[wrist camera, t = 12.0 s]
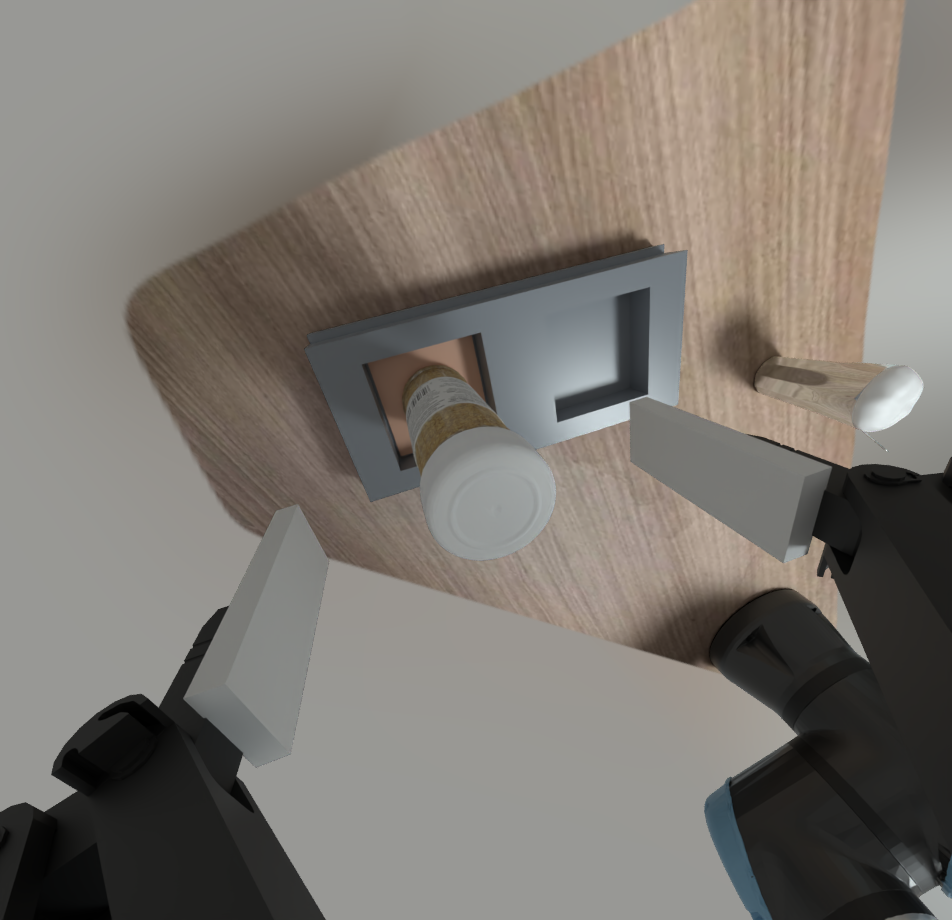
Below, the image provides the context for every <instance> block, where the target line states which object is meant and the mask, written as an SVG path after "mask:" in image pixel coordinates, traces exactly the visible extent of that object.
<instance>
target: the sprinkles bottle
mask: <svg viewBox="0 0 952 920" xmlns="http://www.w3.org/2000/svg"><path fill="white" fill-rule="evenodd" d="M402 403H403V410H404V412H405V414H406V421H407V426H408V431H409V436H410V440H411V445H412V450H413V454H414V458H415V462H416V465H417V467H418V468H419V472H420V475H421V480H420V496H421V502H422V507H423V511H424V515H425V518H426V522H427V525H428V528H429V530H430V532H431V534H432V536H433V537H434V539H435V540H436V541H437V543H438V544H439V545H440V546H441V547H443V548H444V549H445V550H447V551H448V552H450V553H452V554H454V555H456V556H458V557H461V558H465V559H469V560H479V561H484V560H492V559H497V558H501V557H504V556H507V555H510V554H512V553H514V552H516V551H518V550H520V549H522V548H523V547H525V546H526V545H527V544H529V543H530V542H531V541H532V540H533V539H535V537H536V536H537V535H538V534H539V533H540V532H541V531H542V529H543V528H544V527H545V525H546V524H547V522H548V521H549V519H550V517H551V514H552V512H553V509H554V505H555V499H556V485H555V480H554V477H553V474H552V471H551V469H550V468H549V466H548V464H547V463H546V462H545V460H544V459H543V458H542V457H541V456H540V454H539V453H538V452H537V451H536V450H535V449H534V448H533V447H532V446H531V445H530V444H529V443H528V442H527V441H526V440H525V439H524V438H523V437H522V436H520V435H518V434H517V433H515V432H513V431H510V430H509V429H508V428H507V427H506V426H505V424H504V423H503V421H502V420H501V419H500V417H499V416H498V415H497V414H496V413H495V412H494V411H493V410H492V409H491V408H490V407H489V406H488V405H487V403H486V402H485V401H484V400H483V399H482V398H481V397H480V396H479V395H478V394H477V392H476V391H475V390H474V389H473V388H472V387H471V386H470V385H468V384H467V382H466V380H465V378H464V377H462V376H461V375H460V374H459V372H457V371H456V370H454V369H452V368H450V367H447V366H444V365H431V366H427V367H424V368H422V369H420V370H418V371H417V372H415V373H414V374H413V376H411V377H410V379H409V380H408V382H407V383H406V385H405V387H404V391H403V395H402Z"/></svg>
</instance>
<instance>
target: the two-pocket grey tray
mask: <svg viewBox="0 0 952 920" xmlns="http://www.w3.org/2000/svg"><path fill="white" fill-rule="evenodd" d="M686 266H687V250H683V251H676V252H668V253H664V244H663V245H657V246H652V247H648V248H644V249H640V250H636V251H632V252H628V253H624V254H620V255H616V256H612V257H608V258H604V259H600V260H596V261H593V262H589V263H585V264H581V265H577V266H573V267H569V268H565V269H561V270H557V271H553V272H549V273H545V274H541V275H537V276H533V277H529V278H526V279H522V280H518V281H514V282H510V283H506V284H502V285H498V286H494V287H490V288H486V289H482V290H478V291H474V292H470V293H466V294H463V295H459V296H455V297H451V298H447V299H443V300H439V301H435V302H431V303H427V304H423V305H419V306H415V307H411V308H407V309H403V310H399V311H396V312H392V313H388V314H384V315H380V316H376V317H372V318H368V319H364V320H360V321H356V322H352V323H348V324H344V325H340V326H336V327H332V328H329V329H325V330H321V331H317V332H313V333H309V334H308V335H307V337H308V340H309V342H310V345H309V346H307V347H306V348H305V349H304V350H305V352H306V355H307V357H308V359H309V362H310V364H311V366H312V369H313V371H314V373H315V375H316V378H317V380H318V382H319V385H320V387H321V389H322V391H323V394H324V396H325V398H326V401H327V403H328V405H329V408H330V410H331V412H332V414H333V417H334V419H335V421H336V424H337V426H338V428H339V431H340V433H341V435H342V437H343V440H344V442H345V444H346V447H347V449H348V451H349V454H350V456H351V458H352V460H353V463H354V465H355V467H356V470H357V472H358V474H359V476H360V479H361V481H362V483H363V486H364V488H365V490H366V493H367V495H368V497H369V499H370V502H373V501H376V500H379V499H382V498H385V497H388V496H391V495H395V494H398V493H401V492H404V491H407V490H410V489H414V488H417V487H420V480H421V475H420V472H419V468H418V467H417V465H416V462H415V458H414V454H413V450H412V445H411V440H410V436H409V431H408V426H407V421H406V414H405V412H404V410H403V403H402V395H403V391H404V387H405V385H406V383H407V382H408V380H409V379H410V377H411V376H413V374H414V373H415V372H417V371H418V370H420V369H422V368H424V367H427V366H431V365H444V366H447V367H450V368H452V369H454V370H456V371H457V372H459V374H460V375H461V376H462V377H464V378H465V380H466V382H467V384H468V385H470V386H471V387H472V388H473V389H474V390H475V391H476V392H477V394H478V395H479V396H480V397H481V398H482V399H483V400H484V401H485V402H486V403H487V405H488V406H489V407H490V408H491V409H492V410H493V411H494V412H495V413H496V414H497V415H498V416H499V417H500V419H501V420H502V421H503V423H504V424H505V426H506V427H507V428H508V429H509V430H510V431H513V432H515V433H517V434H518V435H520V436H522V437H523V438H524V439H525V440H526V441H527V442H528V443H529V444H530V445H531V446H532V447H533V448H534V449H535V450H536V449H539V448H542V447H546V446H549V445H552V444H555V443H558V442H561V441H564V440H568V439H571V438H574V437H577V436H580V435H583V434H586V433H590V432H593V431H596V430H599V429H602V428H605V427H608V426H612V425H615V424H618V423H621V422H624V421H627V420H630V404H629V402H631V401H634V400H638V399H641V398H644V397H649V398H651V399H654V400H657V401H659V402H662V403H664V404H667V405H670V406H674V405H678V397H679V380H680V364H681V348H682V331H683V315H684V298H685V282H686Z"/></svg>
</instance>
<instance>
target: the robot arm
mask: <svg viewBox="0 0 952 920" xmlns="http://www.w3.org/2000/svg"><path fill="white" fill-rule="evenodd" d="M629 404H630V459H631V462H632V463H633V464H635V465H636V466H638V467H639V468H641V469H642V470H644V471H645V472H647V473H648V474H650V475H651V476H653V477H654V478H656V479H657V480H659V481H660V482H662V483H663V484H665V485H666V486H668V487H669V488H671V489H672V490H674V491H675V492H677V493H678V494H680V495H681V496H683V497H684V498H686V499H687V500H689V501H690V502H692V503H693V504H695V505H697V506H698V507H700V508H701V509H703V510H704V511H706V512H707V513H709V514H710V515H712V516H713V517H715V518H716V519H718V520H719V521H721V522H722V523H724V524H725V525H727V526H728V527H730V528H731V529H733V530H734V531H736V532H737V533H739V534H740V535H742V536H743V537H745V538H746V539H748V540H749V541H751V542H752V543H754V544H755V545H757V546H758V547H760V548H761V549H763V550H764V551H766V552H767V553H769V554H770V555H772V556H773V557H775V558H776V559H778V560H779V561H781V562H782V563H786V562H788V561H791V560H793V559H796V558H798V557H801V556H804V555H806V554H808V550H809V547H810V543H811V540H812V536H814V537H816V538H818V539H820V540H821V541H823V542H825V546H824V550H823V553H822V556H821V559H820V563H819V566H818V569H817V576H819V577H823V575H824V572H825V570H826V569H827V568H829V569H830V571H831V573H832V575H831V578H833V579H834V580H835V583H836V585H837V587H838V590H839V592H840V594H841V597H842V599H843V601H844V604H845V606H846V608H847V611H848V613H849V615H850V618H851V620H852V623H853V625H854V627H855V630H856V632H857V634H858V637H859V639H860V641H861V644H862V646H863V648H864V651H865V653H866V655H867V658H868V660H869V662H870V663H869V662H867V661H866V660H865V659H864V658H862V657H861V656H860V655H858V654H857V653H856V652H855V651H854V650H853V649H852V648H851V647H850V645H849V644H848V643H847V642H846V641H845V639H844V638H843V637H842V636H841V635H840V633H839V632H838V631H837V630H836V629H835V627H834V626H833V625H832V624H831V623H830V622H829V620H828V619H827V618H826V617H825V616H824V615H823V614H822V612H821V611H820V609H819V608H818V607H817V606H816V605H815V604H814V603H812V602H811V601H810V600H808V599H807V598H805V597H804V596H803V595H801V594H800V593H798V592H797V591H794V590H779V591H775V592H771V593H769V594H766V595H764V596H762V597H759V598H758V599H756V600H754V601H752V602H751V603H749V604H747V605H746V606H745V607H743V608H742V609H741V610H739V611H738V612H737V613H736V614H735V615H733V616H732V617H731V618H730V619H729V620H728V621H727V622H726V623H725V625H724V626H723V627H722V628H721V630H720V631H719V632H718V634H717V635H716V637H715V639H714V641H713V643H712V645H711V649H710V659H711V662H712V663H713V664H714V665H715V667H716V668H717V669H718V670H719V671H720V672H721V673H722V674H723V675H724V676H725V677H726V678H727V679H728V680H730V681H731V682H733V683H734V684H736V685H737V686H738V687H740V688H741V689H743V690H744V691H746V692H747V693H748V694H750V695H751V696H753V697H754V698H756V699H757V700H759V701H760V702H762V703H763V704H765V705H766V706H767V707H769V708H770V709H772V710H773V711H775V712H776V713H777V714H778V715H779V716H780V717H781V718H782V719H783V720H784V721H785V722H786V723H787V724H788V725H789V726H790V727H791V728H792V730H793V731H794V732H795V733H796V734H797V735H798V736H797V737H795V738H794V739H792V740H791V741H789V742H788V743H786V744H785V745H783V746H782V747H780V748H779V749H777V750H775V751H774V752H773V753H771V754H769V755H767V756H766V757H764V758H763V759H761V760H760V761H758V762H757V763H755V764H753V765H752V766H750V767H749V768H747V769H745V770H744V771H742V772H741V773H740V774H738V775H736V776H734V777H733V778H732V777H729V778H728V779H727V780H726V781H725V784H724V785H723V786H722V787H720V788H719V789H717V790H716V791H715V792H714V793H712V794H711V795H710V796H709V797H708V798H707V799H706V802H705V810H704V812H705V817H706V823H707V826H708V829H709V832H710V834H711V837H712V840H713V842H714V845H715V847H716V850H717V852H718V854H719V856H720V859H721V861H722V863H723V865H724V867H725V869H726V871H727V873H728V875H729V877H730V879H731V881H732V883H733V885H734V887H735V889H736V891H737V893H738V895H739V897H740V899H741V900H742V902H743V904H744V906H745V908H746V909H747V910H748V911H749V912H750V913H751V916H752V918H753V920H938V919H937V918H936V917H935V916H934V915H933V914H932V913H931V911H930V910H929V909H928V908H927V907H926V906H925V905H924V904H923V902H921V900H920V899H919V897H920V896H921V895H922V894H924V893H926V892H927V891H929V890H931V889H932V888H934V887H935V886H939V885H940V886H941V887H942V889H941V890H942V891H943V892H944V893H945V894H946V896H947V897H950V898H952V457H951V458H950V460H949V462H948V464H947V466H946V469H945V471H944V473H937V474H928V475H919V474H917V473H915V472H912V471H910V470H907V469H904V468H899V467H895V466H890V465H879V464H869V465H868V464H867V465H859V466H855V467H852V468H851V469H848V468H845V467H843V466H840V465H837V464H834V463H832V462H829V461H826V460H824V459H821V458H818V457H815V456H813V455H810V454H807V453H805V452H802V451H799V450H796V451H795V450H794V448H791V447H788V446H786V445H780V443H778V442H775V441H772V440H769V439H767V438H764V437H759V436H754V435H748V434H744V433H741V432H738V431H736V430H733V429H731V428H728V427H725V426H723V425H720V424H717V423H715V422H712V421H709V420H707V419H704V418H701V417H699V416H696V415H694V414H691V413H688V412H686V411H683V410H680V409H678V408H675V407H672V406H670V405H667V404H664V403H662V402H659V401H657V400H654V399H651V398H649V397H644V398H641V399H638V400H634V401H631V402H629ZM328 564H329V560H328V558H327V556H326V554H325V552H324V551H323V549H322V547H321V545H320V543H319V541H318V540H317V538H316V536H315V534H314V532H313V531H312V529H311V527H310V525H309V523H308V521H307V520H306V518H305V516H304V514H303V512H302V510H301V509H300V507H299V505H298V504H296V505H293V506H290V507H287V508H283V509H280V510H277V511H276V512H275V514H274V516H273V518H272V520H271V522H270V524H269V526H268V528H267V530H266V532H265V534H264V536H263V538H262V540H261V543H260V545H259V547H258V549H257V551H256V553H255V555H254V557H253V559H252V561H251V563H250V565H249V567H248V569H247V571H246V573H245V575H244V577H243V579H242V581H241V583H240V585H239V587H238V589H237V591H236V593H235V595H234V597H233V599H232V601H231V603H230V605H229V606H227V607H224V608H221V609H218V610H217V612H216V613H215V614H214V615H213V616H212V617H211V618H210V619H209V620H208V621H207V623H206V624H205V625H204V626H203V627H202V629H201V631H200V632H199V634H198V637H197V638H196V640H195V642H194V643H193V648H192V649H190V651H189V653H188V655H187V656H186V659H185V660H184V661H185V664H182V666H181V667H180V669H179V671H178V673H177V675H176V677H175V679H174V680H173V682H172V684H171V686H170V688H169V690H168V692H167V693H166V695H165V697H164V699H163V701H162V703H161V704H160V706H159V708H158V707H157V706H156V705H155V704H154V703H152V702H151V701H150V700H149V699H148V698H146V697H145V696H144V695H142V694H137V695H129V696H127V697H125V698H122V699H120V700H118V701H115V702H114V703H112V704H110V705H109V706H108V707H106V708H104V709H103V710H101V711H100V712H98V713H97V714H96V715H94V716H93V717H92V718H91V719H90V720H89V721H88V722H86V723H85V724H84V725H83V726H82V727H81V728H79V730H78V731H77V732H76V733H75V734H74V735H73V736H72V737H71V738H70V740H69V741H68V742H67V743H66V744H65V745H64V747H63V748H62V750H61V752H60V753H59V755H58V756H57V758H56V760H55V761H54V765H53V769H52V774H51V775H53V776H54V777H56V778H58V779H59V780H61V781H62V782H64V783H66V784H67V785H69V786H71V787H72V788H74V789H76V790H77V792H75V793H74V794H72V795H71V796H69V797H67V798H66V799H64V800H63V801H61V802H60V803H58V804H56V805H55V806H53V807H52V808H50V809H48V810H47V811H45V812H43V811H41V810H39V809H37V808H35V807H34V806H31V805H30V804H28V803H26V802H25V803H21V804H18V805H14V806H10V807H9V808H7V809H5V810H4V811H2V812H0V920H326V919H325V918H324V916H323V914H322V913H321V911H320V909H319V908H318V906H317V905H316V903H315V901H314V899H313V898H312V896H311V894H310V893H309V891H308V889H307V888H306V886H305V885H304V883H303V881H302V879H301V878H300V876H299V874H298V873H297V871H296V869H295V868H294V866H293V865H292V863H291V862H290V859H289V858H288V856H287V854H286V853H285V852H284V849H283V848H282V846H281V844H280V843H279V841H278V840H277V838H276V837H275V834H274V833H273V831H272V829H271V828H270V826H269V824H268V823H267V821H266V819H265V818H264V816H263V814H262V813H261V811H260V810H259V808H258V806H257V804H256V803H255V801H254V800H253V798H252V796H251V794H250V793H249V791H248V789H247V788H246V786H245V785H244V783H243V782H242V781H241V780H240V779H239V778H238V777H237V776H236V775H237V772H238V768H239V765H240V762H241V759H242V755H243V756H244V757H245V758H246V759H247V760H248V761H249V762H250V763H251V764H252V765H253V766H255V767H256V768H257V767H259V766H262V765H265V764H267V763H269V762H272V761H275V760H278V759H280V758H283V757H285V756H288V755H290V754H291V749H292V744H293V740H294V735H295V730H296V724H297V719H298V714H299V710H300V704H301V699H302V695H303V690H304V684H305V679H306V675H307V670H308V664H309V659H310V654H311V649H312V645H313V639H314V635H315V629H316V624H317V619H318V614H319V609H320V604H321V599H322V594H323V589H324V584H325V579H326V574H327V569H328Z"/></svg>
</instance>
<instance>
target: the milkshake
mask: <svg viewBox="0 0 952 920" xmlns="http://www.w3.org/2000/svg"><path fill="white" fill-rule="evenodd" d="M754 386H755V388H756V390H757V391H758V393H761V394H763V395H766V396H769V397H772V398H775V399H777V400H780V401H783V402H786V403H789V404H791V405H794V406H797V407H800V408H803V409H805V410H808V411H811V412H814V413H817V414H819V415H822V416H825V417H827V418H830V419H832V420H835V421H838V422H840V423H843V424H845V425H848V426H850V427H853V428H856V429H858V430H861V431H862V432H864V433H865V434H866V435H867V436H869V435H868V434H867V433H866V432H874V431H879V430H883V429H886V428H888V427H890V426H892V425H894V424H895V423H896V422H898V421H899V420H900V419H902V418H904V417H905V416H907V415H908V414H909V412H910V411H911V410H912V408H913V406H914V404H915V403H916V401H917V400H918V399H919V397H920V395H921V393H922V390H923V381H922V379H921V378H920V376H919V375H918V374H917V373H916V372H915V371H914V370H913V369H912V368H910V367H908V366H903V365H887V364H872V363H855V362H833V361H822V360H811V359H800V358H789V357H777V356H773V357H772V358H770V359H769V360H767V361H766V362H764V363H763V364H762V366H761V367H760V369H759V370H758V372H757V373H756V376H755V382H754ZM869 437H870V438H871V439H872V440H874V439H873V438H872V437H871V436H869ZM874 442H876V443H877V444H878V445H879V446H881V447H882V448H883V449H884V450H885V451H887V452H889V451H888V450H886V449H885V448H884V447H883V446H882V445H880V444H879V443H878V442H877V441H875V440H874Z"/></svg>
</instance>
